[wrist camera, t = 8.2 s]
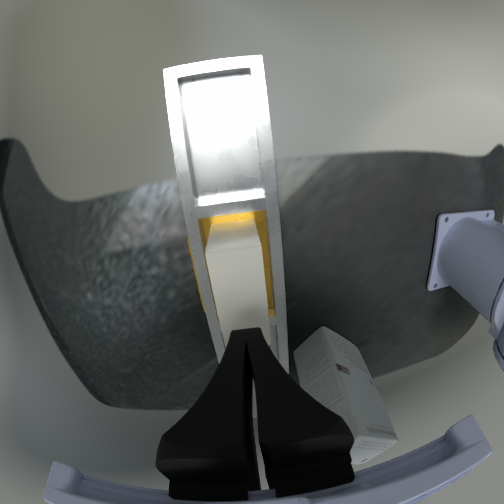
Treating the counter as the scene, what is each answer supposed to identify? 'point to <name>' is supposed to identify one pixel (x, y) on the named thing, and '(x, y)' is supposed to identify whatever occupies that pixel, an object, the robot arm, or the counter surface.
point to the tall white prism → (238, 277)
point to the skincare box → (345, 390)
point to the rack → (228, 174)
